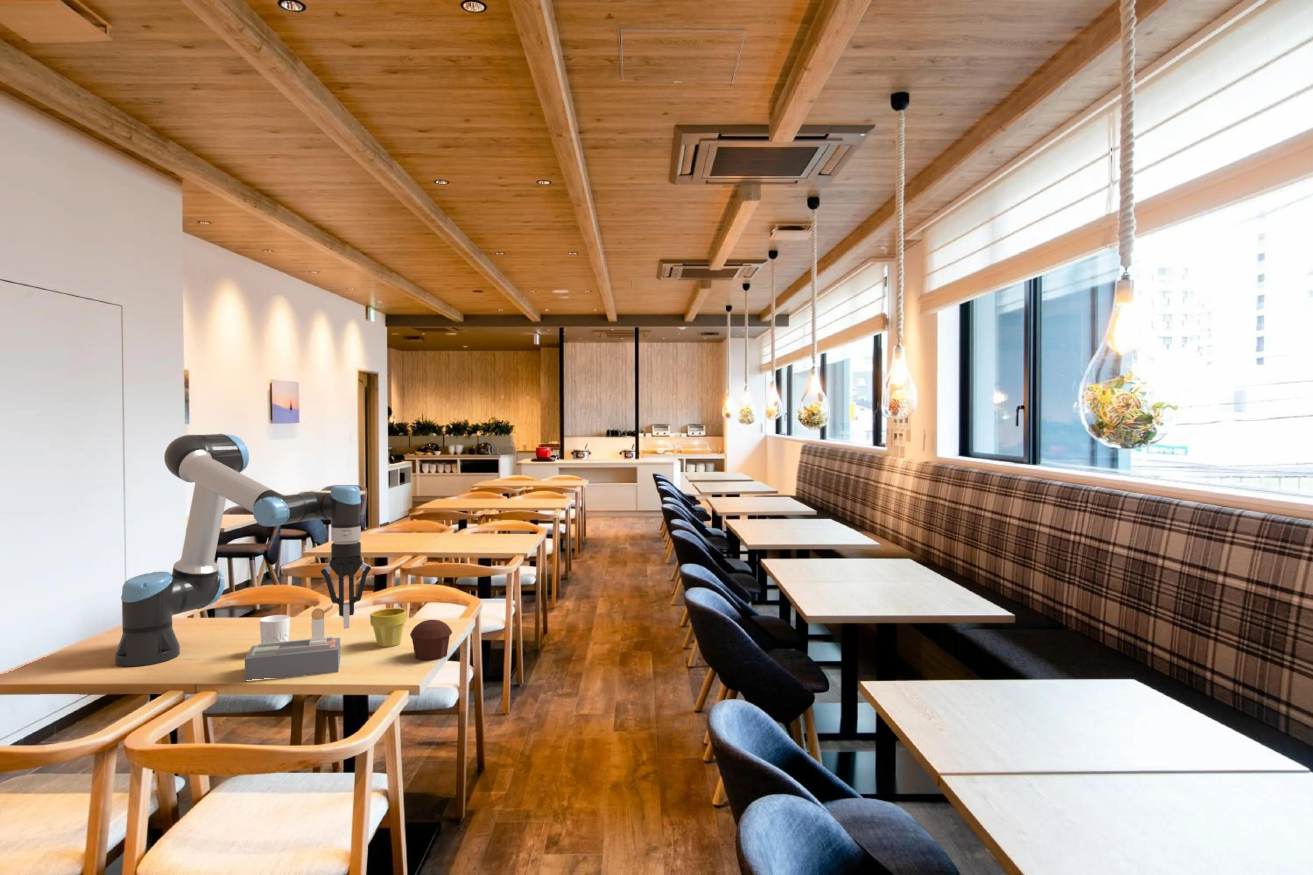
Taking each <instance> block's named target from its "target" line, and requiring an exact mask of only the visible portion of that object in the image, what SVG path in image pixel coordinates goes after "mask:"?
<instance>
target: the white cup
mask: <svg viewBox="0 0 1313 875" xmlns="http://www.w3.org/2000/svg"><path fill="white" fill-rule="evenodd" d="M290 627H291V616H290V615H286V614H276V615H268V616H263V617H262V618H260V619H259V633H260V636H259V637H260V644H263V643H273V642H284V641H290V629H291V628H290Z"/></svg>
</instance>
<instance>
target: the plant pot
mask: <svg viewBox="0 0 1313 875" xmlns="http://www.w3.org/2000/svg"><path fill="white" fill-rule="evenodd" d="M369 614H370V615H369V617H370V619H369V620H370V622H369V623H370V626H372V628H373V632H374V635H375V639H376V644H377V646H378V647H383V648H390V647H396V646H398V645H400V644H401V643H402V637H403V633H404V627H405V624H406V622H407V617H408V615H407V610H406V608H401V607H390V608H389V607H388V608H387V607H386V608H381V609H378V610H377V609H376V610H374V611H372V612H370V613H369Z"/></svg>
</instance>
